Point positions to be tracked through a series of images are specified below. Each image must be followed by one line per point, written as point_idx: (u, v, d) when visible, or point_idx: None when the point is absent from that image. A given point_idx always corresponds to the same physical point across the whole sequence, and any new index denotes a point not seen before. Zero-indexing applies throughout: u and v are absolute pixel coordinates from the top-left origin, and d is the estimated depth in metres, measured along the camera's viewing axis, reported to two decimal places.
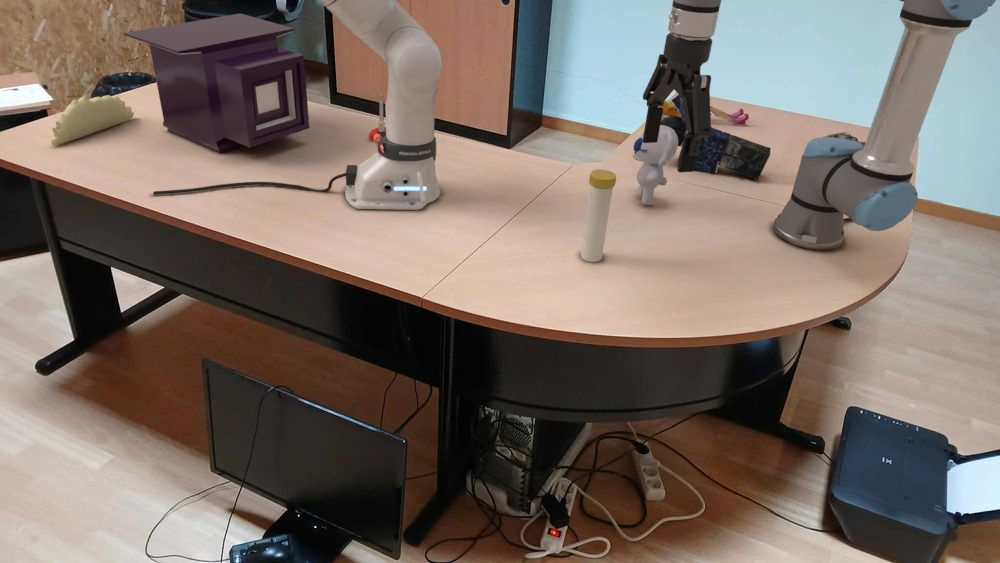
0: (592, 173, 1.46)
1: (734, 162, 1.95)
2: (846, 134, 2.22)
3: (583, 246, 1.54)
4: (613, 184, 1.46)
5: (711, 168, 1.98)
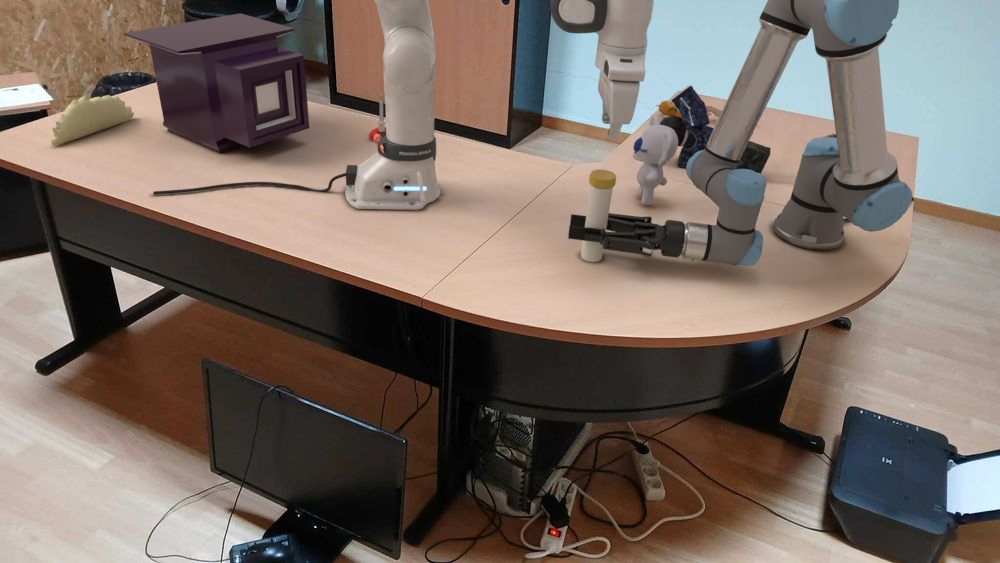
0: (592, 173, 1.46)
1: None
2: None
3: (583, 246, 1.54)
4: (613, 184, 1.46)
5: None
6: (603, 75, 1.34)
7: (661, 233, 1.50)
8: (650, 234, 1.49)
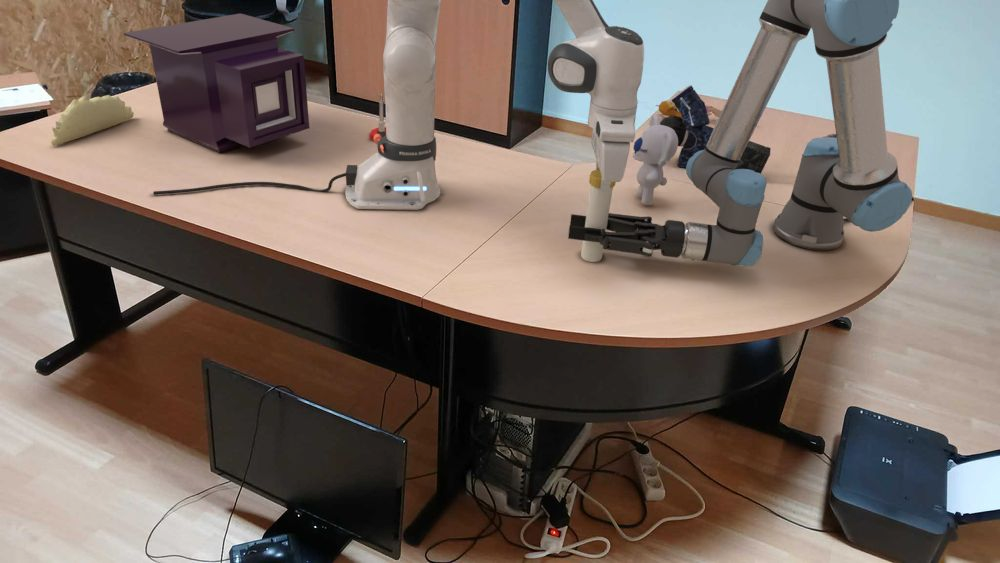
0: (592, 173, 1.46)
1: None
2: None
3: (583, 246, 1.54)
4: (613, 184, 1.46)
5: None
6: (595, 133, 1.40)
7: (661, 233, 1.50)
8: (650, 234, 1.49)
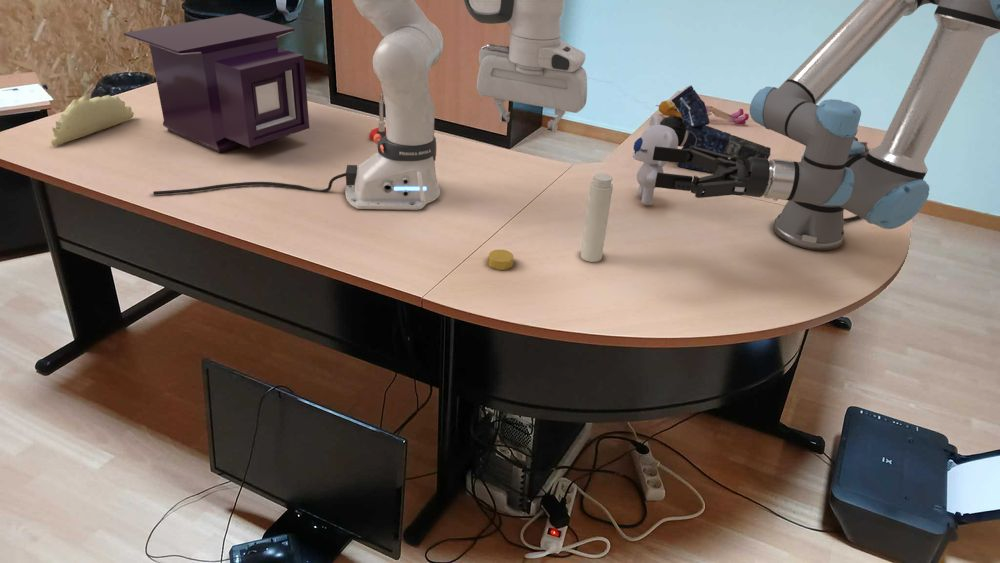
0: (511, 254, 1.51)
1: None
2: None
3: (583, 246, 1.54)
4: None
5: None
6: (534, 72, 1.27)
7: (743, 171, 1.41)
8: None
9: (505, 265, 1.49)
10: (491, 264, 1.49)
